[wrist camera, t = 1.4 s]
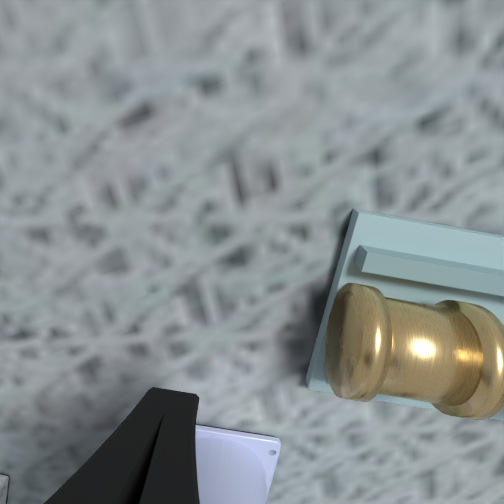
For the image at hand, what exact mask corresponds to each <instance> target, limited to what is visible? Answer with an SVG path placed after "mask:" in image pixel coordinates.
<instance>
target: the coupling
mask: <svg viewBox="0 0 504 504" xmlns="http://www.w3.org/2000/svg"><path fill="white" fill-rule="evenodd" d="M325 360H326V370H327V376H328V380H329V383H330V386H331V388H332V391H333V392H334V394H335V395H336V396H338V397H339V398H344V399H351V400H357V401H363V402H367V401H370V400H372V399H373V398H374V397H375V396H376V395H377V394H381V395H387V396H393V397H399V398H405V399H411V400H417V401H424V402H430V403H431V404H432V405H433V406H434V407H435V408H436V409H438V410H439V411H441V412H442V413H444V414H447V415H450V416H456V417H462V418H468V419H475V420H483V419H487V418H490V417H492V416H494V415H495V414H497V413H498V412H499V411H500V410H501V409H502V408H503V407H504V326H503V324H502V323H501V321H500V320H499V319H498V318H497V317H496V316H495V315H494V314H493V313H492V312H491V311H489V310H488V309H486V308H485V307H483V306H480V305H477V304H473V303H467V302H461V301H455V300H444V301H441V302H438V303H436V304H435V305H429V304H423V303H418V302H412V301H406V300H400V299H394V298H389V297H384V296H383V294H382V293H381V291H380V290H379V289H377V288H376V287H373V286H369V285H363V284H357V283H346V284H345V285H344V286H343V287H342V288H341V289H340V290H339V292H338V294H337V295H336V297H335V300H334V302H333V305H332V308H331V311H330V315H329V320H328V325H327V332H326V344H325Z"/></svg>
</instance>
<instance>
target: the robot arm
mask: <svg viewBox="0 0 504 504" xmlns="http://www.w3.org/2000/svg"><path fill="white" fill-rule="evenodd" d="M198 404H199V397H198V396H197V395H196V394H192V393H186V392H180V391H173V390H167V389H161V388H155V387H153V388H151V389H149V390H148V392H147V393H146V394H145V396H144V397H143V398H142V399H141V401H140V402H139V403H138V404H137V406H136V407H135V408H134V409H133V411H132V412H131V413H130V414H129V415H128V417H127V418H126V419H125V420H124V421H123V422H122V423H121V425H120V426H119V427H118V428H117V429H116V430H115V431H114V433H113V434H112V435H111V436H110V437H109V438H108V439H107V440H106V441H105V442H104V443H103V444H102V446H101V447H100V448H99V449H98V450H97V451H96V452H95V453H94V454H93V455H92V456H91V457H90V458H89V460H88V461H87V462H86V463H85V464H84V465H83V466H82V467H81V468H80V469H79V470H78V471H77V472H76V473H75V474H74V475H73V476H72V477H71V478H70V479H69V480H68V481H67V482H66V483H65V484H64V485H63V486H62V487H61V488H60V489H59V490H58V491H57V492H56V493H54V494H53V495H52V496H51V497H50V498H49V499H48V500H47V501H46V502H45V503H44V504H267V496H268V493H269V489H270V486H271V482H272V478H273V475H274V471H275V467H276V464H277V460H278V457H279V453H280V449H281V441H280V440H279V439H278V438H276V437H270V436H264V435H258V434H251V433H245V432H239V431H232V430H226V429H219V428H213V427H207V426H200V425H196V417H197V410H198Z"/></svg>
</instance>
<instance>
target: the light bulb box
mask: <svg viewBox="0 0 504 504" xmlns="http://www.w3.org/2000/svg"><path fill="white" fill-rule="evenodd" d="M8 481H9V477H8V476H5V475H2V474H0V504H6V497H7V489H8Z"/></svg>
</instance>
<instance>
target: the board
mask: <svg viewBox="0 0 504 504" xmlns="http://www.w3.org/2000/svg"><path fill="white" fill-rule="evenodd" d="M346 283H357V284H363V285H369V286H373V287H376V288H377V289H379V290H380V291H381V293H382V294H383V296H384V297H389V298H394V299H400V300H406V301H412V302H418V303H423V304H429V305H435V304H436V303H438V302H441V301H444V300H455V301H461V302H467V303H473V304H477V305H480V306H483V307H485V308H486V309H488V310H489V311H491V312H492V313H493V314H494V315H495V316H496V317H497V318H498V319H499V320H500V321H501V323H502V324H503V326H504V236H502V235H496V234H491V233H485V232H480V231H474V230H469V229H463V228H458V227H452V226H446V225H441V224H435V223H430V222H424V221H419V220H413V219H408V218H402V217H397V216H391V215H386V214H380V213H374V212H369V211H363V210H358V209H353V212H352V215H351V219H350V222H349V226H348V229H347V233H346V236H345V240H344V244H343V247H342V251H341V254H340V258H339V261H338V265H337V268H336V272H335V275H334V279H333V282H332V286H331V290H330V293H329V297H328V300H327V304H326V307H325V311H324V314H323V318H322V321H321V325H320V328H319V332H318V336H317V339H316V343H315V346H314V350H313V353H312V357H311V360H310V364H309V367H308V371H307V374H306V382H307V388H308V389H309V390H315V391H321V392H327V393H333V394H334V392H333V391H332V388H331V386H330V383H329V380H328V376H327V370H326V360H325V344H326V332H327V325H328V320H329V315H330V311H331V308H332V305H333V302H334V300H335V297H336V295H337V294H338V292H339V290H340V289H341V288H342V287H343V286H344V285H345V284H346ZM372 400H377V401H383V402H389V403H395V404H401V405H408V406H414V407H420V408H426V409H432V410H438V409H436V408H435V407H434V406H433V405H432V404H431V403H430V402H424V401H417V400H411V399H405V398H399V397H393V396H387V395H381V394H377V395H376V396H375V397H374V398H373V399H372ZM438 411H439V410H438ZM488 419H494V420H500V421H504V407H503V408H502V409H501V410H500V411H499V412H498V413H497V414H495V415H494V416H492V417H490V418H488Z"/></svg>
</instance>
